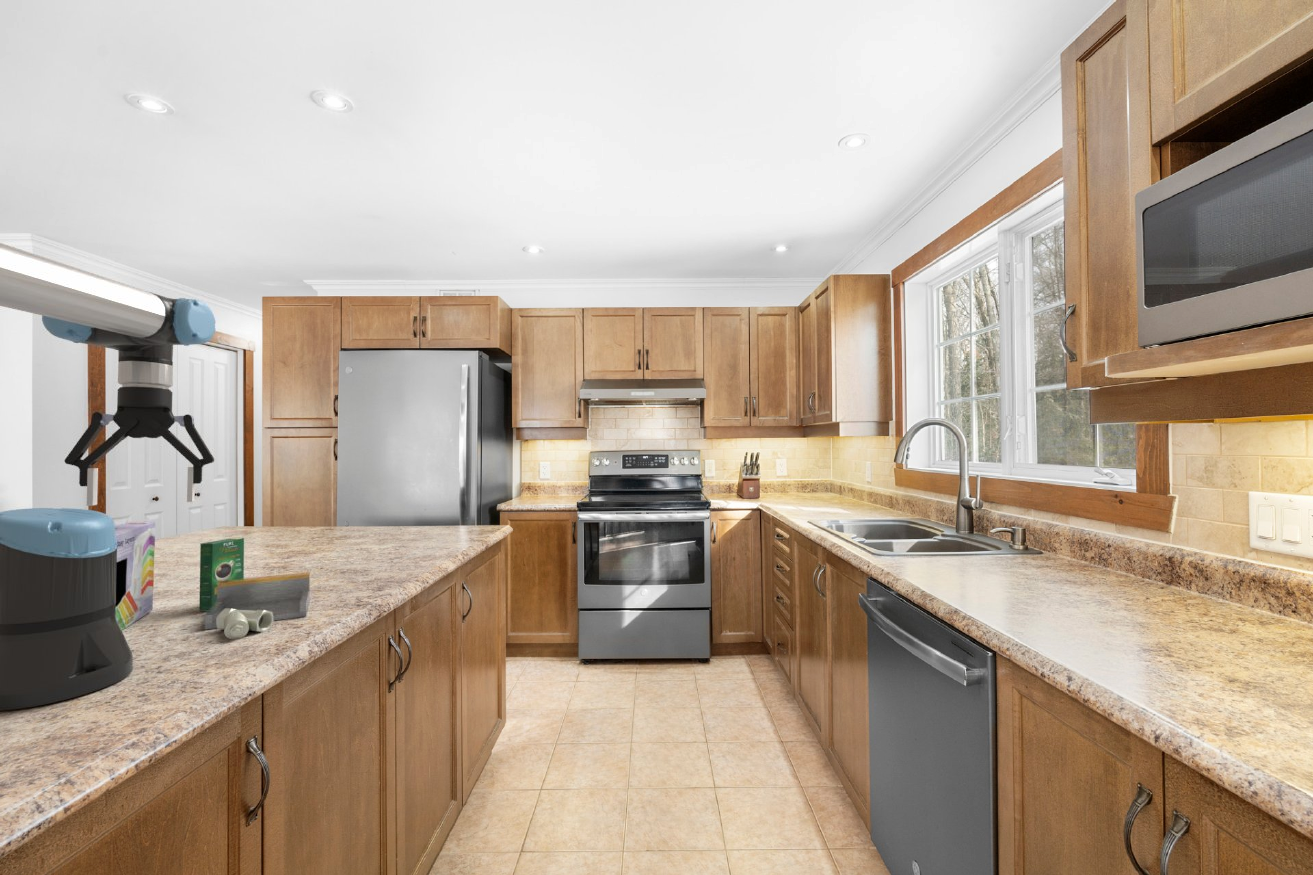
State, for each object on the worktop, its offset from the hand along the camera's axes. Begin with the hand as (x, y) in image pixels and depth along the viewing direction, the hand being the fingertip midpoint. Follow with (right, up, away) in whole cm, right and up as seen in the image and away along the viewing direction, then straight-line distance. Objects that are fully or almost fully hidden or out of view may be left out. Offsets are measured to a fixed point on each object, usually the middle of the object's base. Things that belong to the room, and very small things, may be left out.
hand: (143, 503), depth 104 cm
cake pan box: (-1, -22, -4) cm, 22 cm away
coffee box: (+7, -22, +10) cm, 25 cm away
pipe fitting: (+22, -22, -7) cm, 32 cm away
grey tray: (+19, -21, +4) cm, 29 cm away
